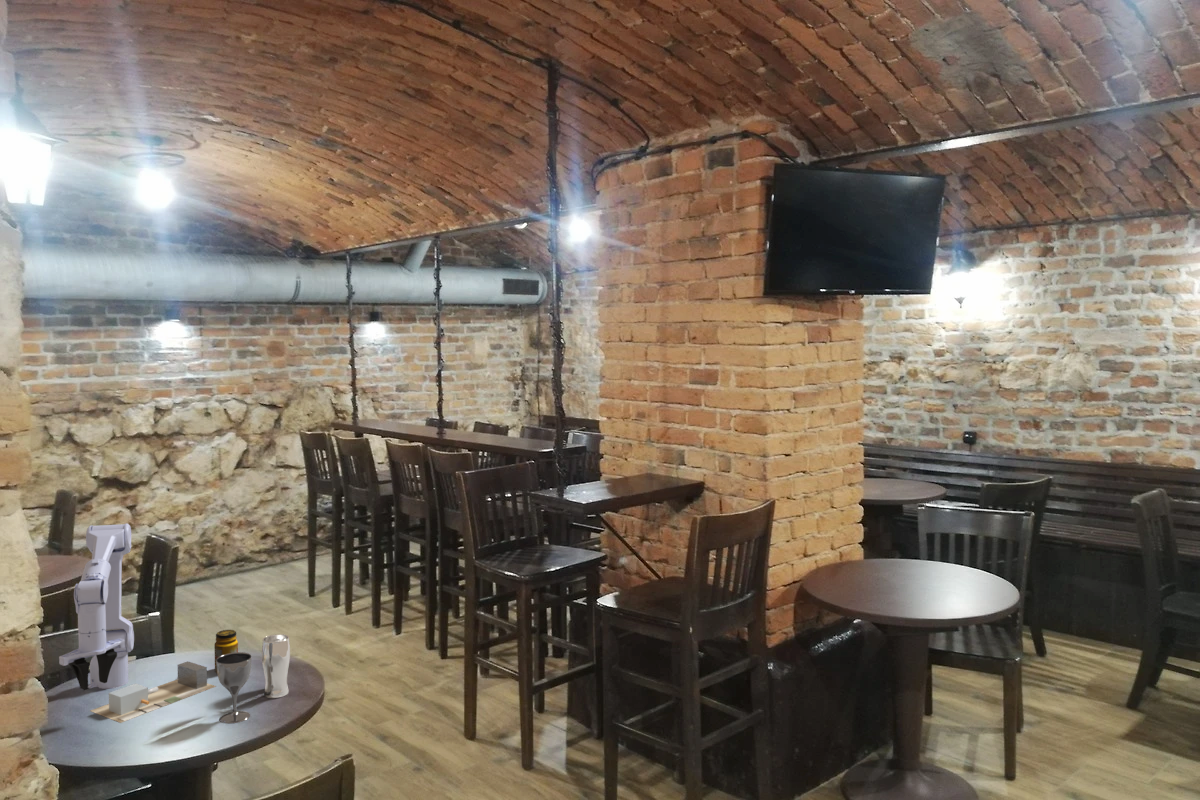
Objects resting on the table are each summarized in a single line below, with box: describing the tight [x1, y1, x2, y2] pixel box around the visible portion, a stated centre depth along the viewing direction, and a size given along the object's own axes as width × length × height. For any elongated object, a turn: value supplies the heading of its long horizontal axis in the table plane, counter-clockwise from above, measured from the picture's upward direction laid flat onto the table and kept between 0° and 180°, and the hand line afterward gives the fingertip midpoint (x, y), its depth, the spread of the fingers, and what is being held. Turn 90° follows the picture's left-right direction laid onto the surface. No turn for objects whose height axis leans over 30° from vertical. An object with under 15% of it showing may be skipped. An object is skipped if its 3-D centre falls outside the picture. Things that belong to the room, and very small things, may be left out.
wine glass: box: [216, 651, 252, 724], centre depth 214 cm, size 8×8×15 cm
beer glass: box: [261, 633, 291, 699], centre depth 229 cm, size 7×7×15 cm
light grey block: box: [108, 683, 158, 715], centre depth 217 cm, size 7×11×4 cm
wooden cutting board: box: [89, 678, 217, 724], centre depth 222 cm, size 13×26×1 cm, turn 150°
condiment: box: [214, 629, 239, 674], centre depth 241 cm, size 7×8×12 cm
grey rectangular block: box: [177, 661, 208, 689], centre depth 231 cm, size 8×3×5 cm, turn 60°
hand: (93, 685), depth 208 cm, fingers open, 4 cm apart
